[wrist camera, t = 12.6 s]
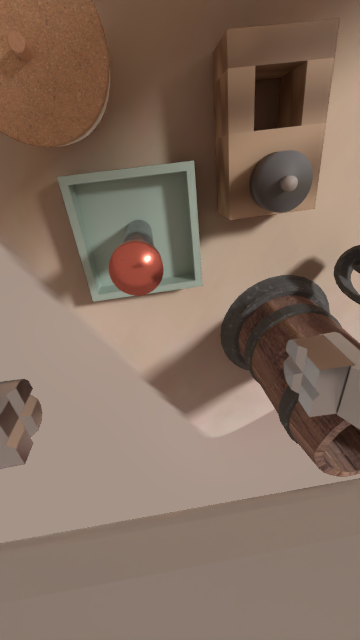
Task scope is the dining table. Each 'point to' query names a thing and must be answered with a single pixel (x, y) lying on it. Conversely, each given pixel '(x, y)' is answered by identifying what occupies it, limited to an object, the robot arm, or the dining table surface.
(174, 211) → the tray
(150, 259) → the lock pin
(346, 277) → the tankard
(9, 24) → the lidded jar
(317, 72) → the block
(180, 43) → the dining table surface
